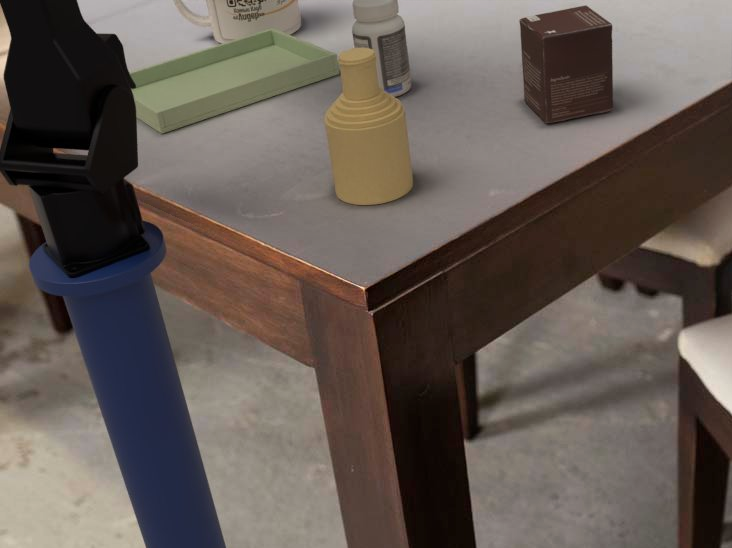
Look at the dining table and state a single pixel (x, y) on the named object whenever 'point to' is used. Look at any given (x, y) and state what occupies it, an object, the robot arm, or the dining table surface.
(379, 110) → the bottle
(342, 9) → the dining table surface
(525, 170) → the dining table surface
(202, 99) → the tray
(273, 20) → the mug
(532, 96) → the box
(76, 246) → the robot arm
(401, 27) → the pill bottle
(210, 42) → the dining table surface
